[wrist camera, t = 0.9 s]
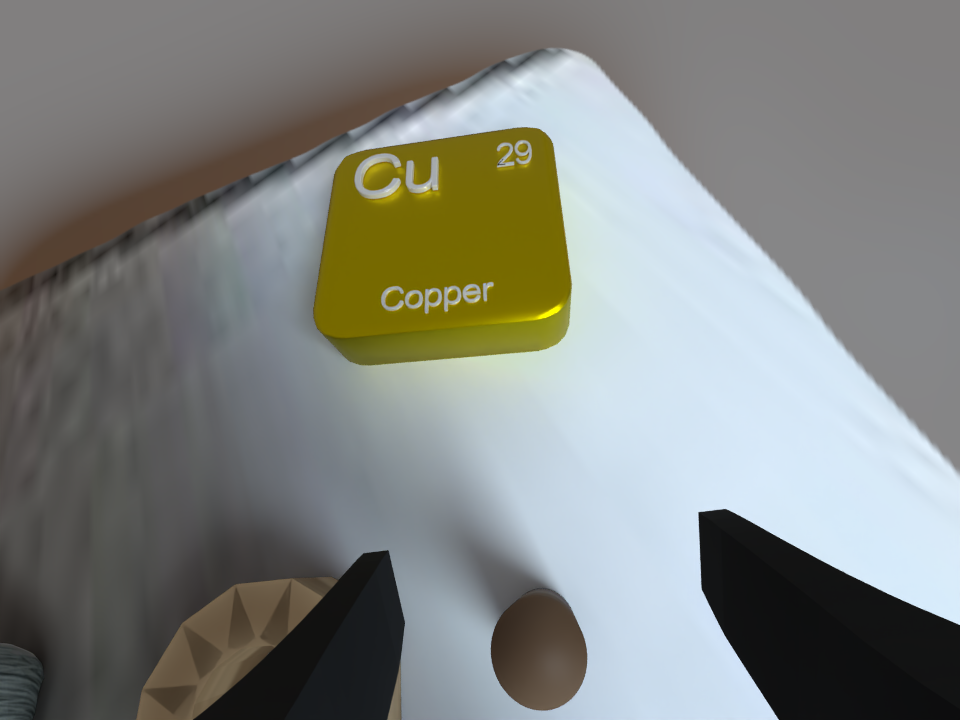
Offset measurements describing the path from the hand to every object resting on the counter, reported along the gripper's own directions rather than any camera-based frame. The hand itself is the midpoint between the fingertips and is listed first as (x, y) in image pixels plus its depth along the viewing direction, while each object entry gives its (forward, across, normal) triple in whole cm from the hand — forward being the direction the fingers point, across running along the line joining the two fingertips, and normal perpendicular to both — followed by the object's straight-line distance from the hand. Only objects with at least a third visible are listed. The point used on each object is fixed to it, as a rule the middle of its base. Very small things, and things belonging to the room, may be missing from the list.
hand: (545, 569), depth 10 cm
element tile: (+23, +3, -7) cm, 24 cm away
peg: (+9, 0, +10) cm, 13 cm away
